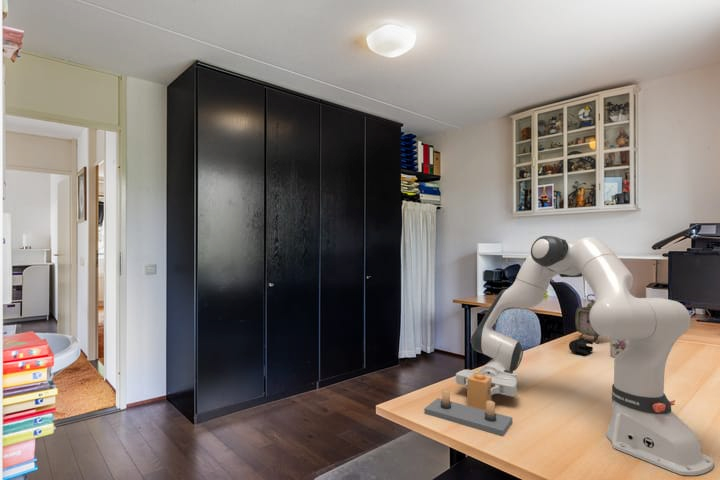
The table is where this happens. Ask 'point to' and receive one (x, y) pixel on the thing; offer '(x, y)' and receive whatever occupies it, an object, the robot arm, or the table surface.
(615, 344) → the decorative jar
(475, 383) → the orange toy brick
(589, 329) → the tabletop clock
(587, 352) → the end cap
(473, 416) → the mounting plate
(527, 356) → the table surface
